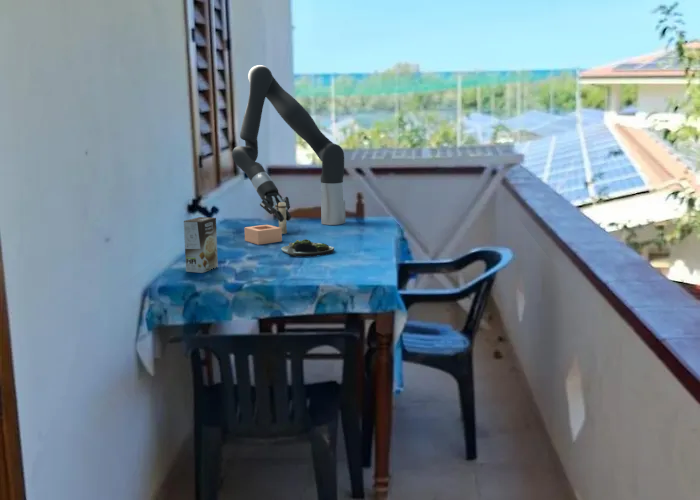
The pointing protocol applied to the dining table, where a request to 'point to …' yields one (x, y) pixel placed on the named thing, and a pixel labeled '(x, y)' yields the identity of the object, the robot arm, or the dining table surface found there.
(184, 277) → the dining table surface
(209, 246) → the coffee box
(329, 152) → the robot arm
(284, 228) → the birch peg
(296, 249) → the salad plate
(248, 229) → the orange square ring
